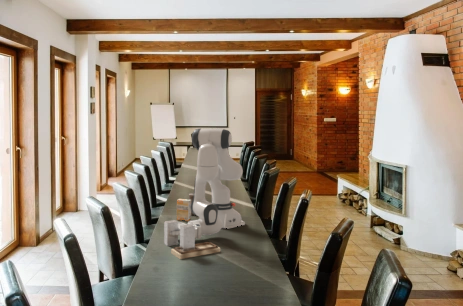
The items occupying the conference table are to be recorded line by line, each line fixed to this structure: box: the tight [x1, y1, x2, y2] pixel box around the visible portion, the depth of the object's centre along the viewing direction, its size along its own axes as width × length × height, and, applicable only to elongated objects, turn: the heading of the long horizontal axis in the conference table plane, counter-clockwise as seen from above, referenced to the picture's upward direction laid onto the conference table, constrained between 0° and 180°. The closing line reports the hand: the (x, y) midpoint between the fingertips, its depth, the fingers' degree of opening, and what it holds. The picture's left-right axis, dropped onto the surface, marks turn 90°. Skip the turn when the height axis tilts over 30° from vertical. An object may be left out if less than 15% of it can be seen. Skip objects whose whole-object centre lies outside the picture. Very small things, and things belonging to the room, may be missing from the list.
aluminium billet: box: [163, 219, 179, 247], centre depth 228 cm, size 6×4×12 cm, turn 122°
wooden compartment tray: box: [170, 241, 221, 260], centre depth 216 cm, size 22×10×3 cm, turn 122°
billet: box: [179, 224, 196, 251], centre depth 213 cm, size 6×4×12 cm, turn 123°
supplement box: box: [176, 198, 192, 222], centre depth 278 cm, size 8×5×13 cm, turn 73°
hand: (169, 232), depth 227 cm, fingers closed on aluminium billet, 4 cm apart
